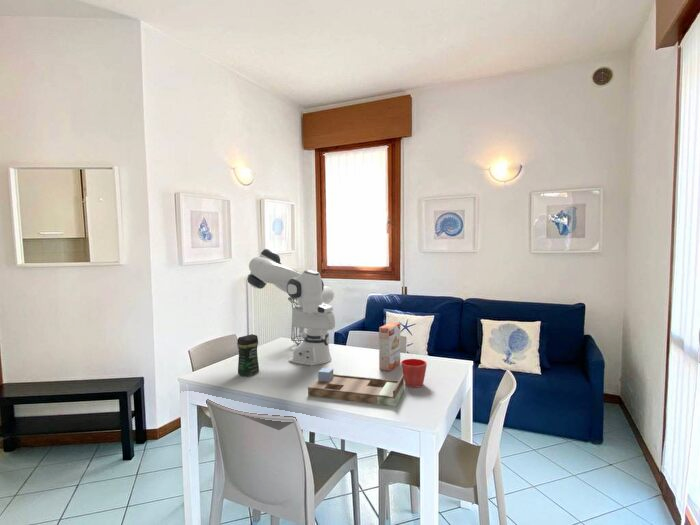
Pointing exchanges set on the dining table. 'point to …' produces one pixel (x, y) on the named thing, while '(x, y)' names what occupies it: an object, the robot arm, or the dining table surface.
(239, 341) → the coffee jar
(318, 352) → the robot arm
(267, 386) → the dining table surface
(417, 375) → the flower pot
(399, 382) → the box
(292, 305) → the geometric lantern
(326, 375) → the cube
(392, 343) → the cracker box
